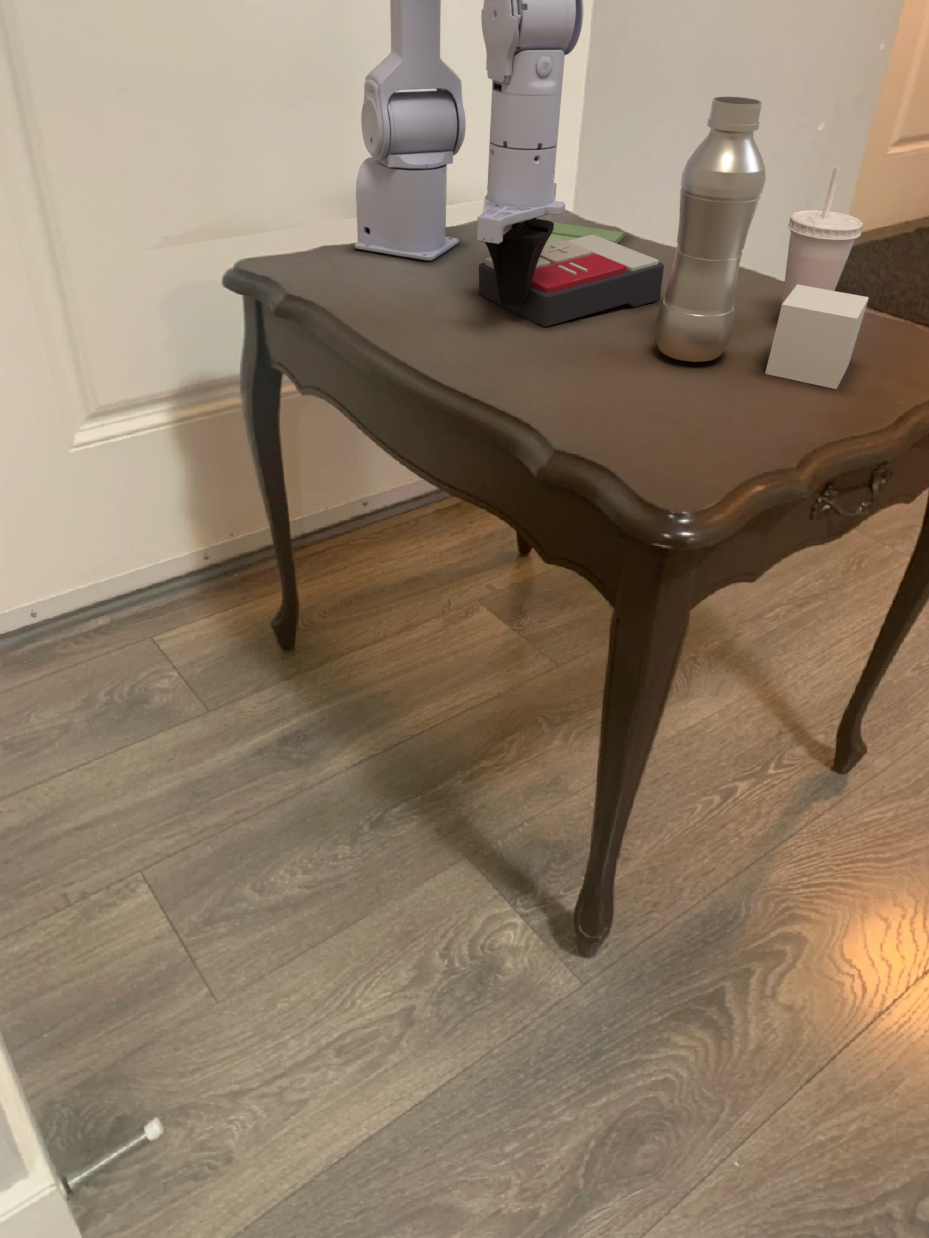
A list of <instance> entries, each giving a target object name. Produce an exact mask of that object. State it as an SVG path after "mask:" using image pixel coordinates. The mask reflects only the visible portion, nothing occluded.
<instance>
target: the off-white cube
mask: <svg viewBox="0 0 929 1238" xmlns="http://www.w3.org/2000/svg"><path fill="white" fill-rule="evenodd" d="M869 299H870V297H869V296H863V295H859V294H852V293H847V292H841V291H837V290H835V291H831V290H826V289H820V288H815V287H809V286H803V285H798V284H797V286H796V287H795V288H794V289H793V291H792V292H791V293H790V295H789V296H788V297H787V299H786V300H785V301H784V302H783V304H782V303H781V307H780V312H779V315H778V318H777V322H776V323H777V324H776V328H775V332H774V334H773V335H774V336H773V340H772V345H771V349H770V352H769V356H768V360H767V364H766V369H765V373H764V374H765V375H768V376H773V377H778V378H782V379H788V380H792V381H796V382H801V383H805V384H810V385H815V386H820V387H824V388H829V389H834V390H838V388H839V385H840V384H841V381H842V379H843V378H844V375H845V374H846V371H847V369H848V367H849V365H850V362H851V360H852V359H851V358H852V355H853V352H854V349H855V346H856V342H857V339H858V335H859V332H860V329H861V325H862V323H863V319H864V317H865V313H866V309H867V306H868V302H869Z"/></svg>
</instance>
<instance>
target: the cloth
mask: <svg viewBox="0 0 929 1238" xmlns="http://www.w3.org/2000/svg"><path fill="white" fill-rule="evenodd" d="M552 222H553V223H554V229H553V232H552V234H551V235H550V237H549V239H548V240H547V242H546V244H547V243H551V242H556V241H560V240H564V241H568V240H572V239H576V238H580V237H584V236H588V235H596V236H598V237H601V238H604V239H606V240H609V241H611V242H614V243H616V244H619V243H620V242H621V240H622V239H623V238H624V237H625V232H623V231H617V230H610V229H605V228H603V229H602V228H597V227H592V226H591V227H590V226H585V225H577V224H569V223H563V222H557V221H552Z"/></svg>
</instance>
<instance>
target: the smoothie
mask: <svg viewBox="0 0 929 1238" xmlns="http://www.w3.org/2000/svg"><path fill="white" fill-rule="evenodd" d="M841 169H842V167H839V166H834V167H833V170H832V174H831V178H830V181H829V185H828V189H827V194H826V198H825V200H824V201H825V202H824V206H823V209H822V210H818V209H808V210H807V209H806V210H799V211H795V212H793V213H791V215H790V218H789V221H788V224H787V228H788V230H790V232H789V233H790V234H789V240H788V248H787V257H786V258H787V259H786V265H785V266H786V267H785V274H784V275H785V276H784V282H783V283H784V284H783V291H782V301H781V305H782V304H783V302H784V301H785V300H786V299H787V297H788V296H789V295H790V293H791V292H792V291H793V289H794V288H795V287H796V286H797V284H798V285H803V286H809V287H815V288H820V289H826V290H831V291H836V288H837V286H838V284H839V281H840V279H841V276H842V273H843V270H844V269H845V266H846V263H847V261H848V259H849V256H850V254H851V251H852V249H853V246H854V243H855V241H856V239H858V238H860V237H861V236H862V229H863V227H864V223H863V222H862V221H861V220H860V219H859V218H857V217H855V216H852V215H850V214H847V213H846V214H845V213H841V212H836V211H831V207H832V204H833V200H834V196H835V191H836V188H837V184H838V180H839V177H840V172H841Z"/></svg>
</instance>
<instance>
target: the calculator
mask: <svg viewBox="0 0 929 1238" xmlns="http://www.w3.org/2000/svg"><path fill="white" fill-rule="evenodd" d="M664 271H665V264H664V263H663V262H660V261H659V259H657V258H655V257H652V256H649V255H647V254H644V253H642V252H639V251H637V250H634V249H631V248H629V247H627V246H624V245H621V244H619V243H617V244H616V243H614V242H611V241H609V240H606V239H604V238H601V237H598V236H596V235H588V236H584V237H580V238H576V239H572V240H568V241H564V240H560V241H556V242H551V243H547V244H545V246H544V248H543V250H542V252H541V255H540V257H539V260H538V263H537V265H536V269H535V272H534V276H533V279H532V283H531V286H530V290H529V293H528V297H527V299H526V302H525V304H524V305H523V306H522V307H514V306H508V305H503V304H501V302H500V297H499V292H498V286H497V280H496V275H495V269H494V265H493V262H492V258H491V256H488V257H485V259H484V262H481V263H479V264H478V294H479V295H481V296H483V297H484V298H487V299H488V300H490V301H493V302H494V303H496V304H498V305H500V306H501V307H504V308H506V309H508V310H510V311H512V312H514V313H515V314H517V315H520V316H521V317H523V318H525V319H527V320H529V321H531V322H533V323H535V324H537V325H538V326H541V327H543V328H547V327H551V326H554V325H558V324H562V323H564V322H568V321H571V320H575V319H579V318H582V317H586V316H588V315H592V314H596V313H599V312H603V311H606V310H607V311H608V310H610V309H614V308H617V307H620V306H623V305H627V306H629V307H631V308H637V307H640V306H645V305H647V304H650V303H653V302H657V301H660V299H661V293H662V285H663V277H664Z"/></svg>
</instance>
